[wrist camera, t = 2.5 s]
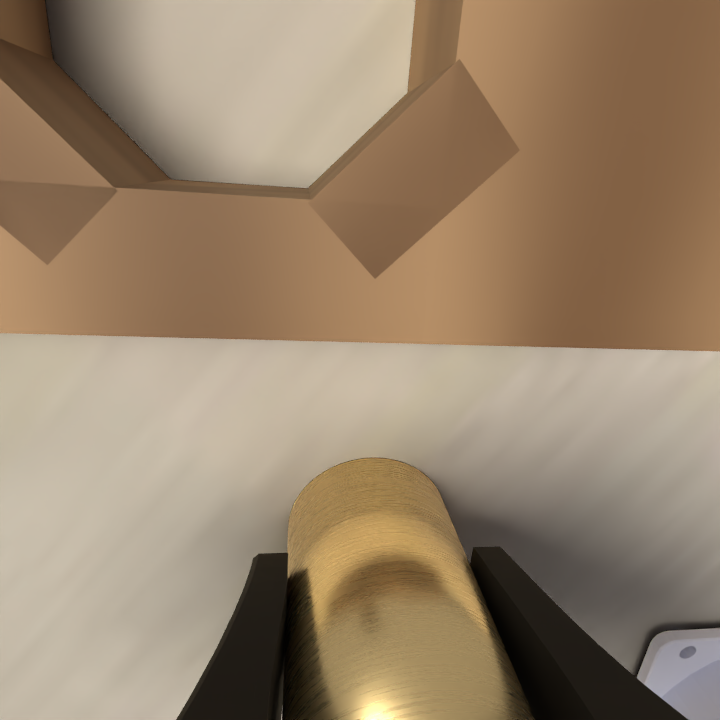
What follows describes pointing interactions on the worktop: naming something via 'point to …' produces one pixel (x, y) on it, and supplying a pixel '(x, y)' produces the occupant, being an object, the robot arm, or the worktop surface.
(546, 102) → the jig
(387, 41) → the worktop surface
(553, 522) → the worktop surface
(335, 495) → the bushing
